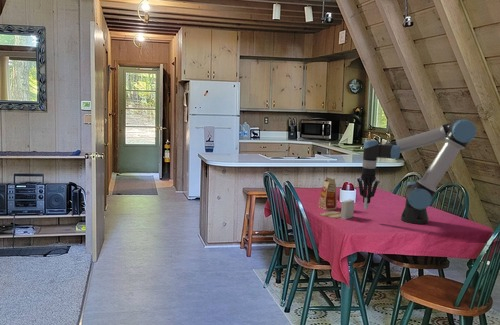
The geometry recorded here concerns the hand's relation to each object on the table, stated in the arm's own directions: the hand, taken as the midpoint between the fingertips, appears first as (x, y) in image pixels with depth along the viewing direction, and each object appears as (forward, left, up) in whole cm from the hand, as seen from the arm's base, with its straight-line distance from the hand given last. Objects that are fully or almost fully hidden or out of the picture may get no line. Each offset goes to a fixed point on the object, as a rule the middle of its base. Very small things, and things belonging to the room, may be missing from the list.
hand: (366, 208), depth 273 cm
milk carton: (+32, -14, -8) cm, 36 cm away
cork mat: (+20, 0, -8) cm, 22 cm away
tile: (+11, 0, -8) cm, 14 cm away
